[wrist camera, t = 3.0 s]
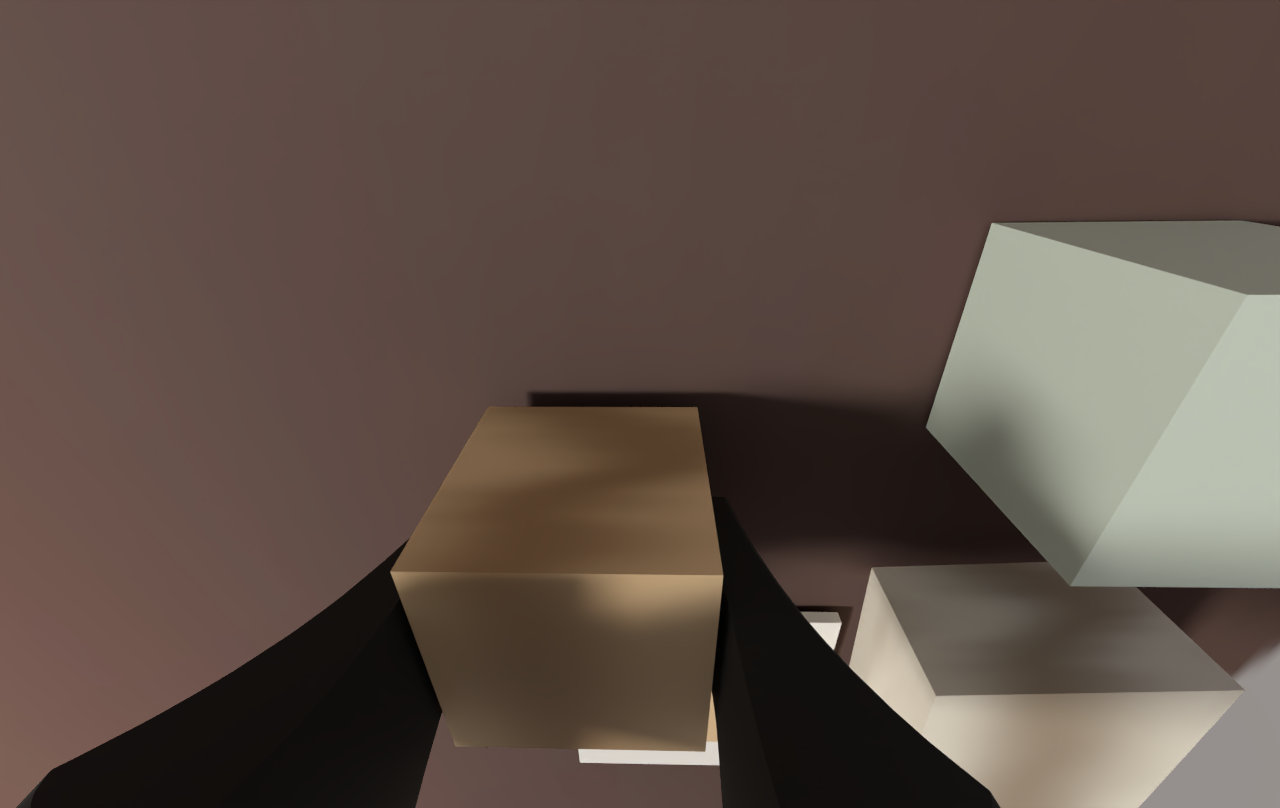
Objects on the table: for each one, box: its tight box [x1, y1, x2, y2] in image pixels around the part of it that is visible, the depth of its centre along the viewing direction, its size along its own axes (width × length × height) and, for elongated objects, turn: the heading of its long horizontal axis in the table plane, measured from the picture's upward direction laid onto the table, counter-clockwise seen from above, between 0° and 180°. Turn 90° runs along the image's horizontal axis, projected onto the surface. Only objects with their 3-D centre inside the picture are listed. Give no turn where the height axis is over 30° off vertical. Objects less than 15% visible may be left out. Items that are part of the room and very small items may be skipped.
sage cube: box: [926, 220, 1280, 588], centre depth 9 cm, size 5×5×5 cm
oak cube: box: [390, 407, 723, 752], centre depth 11 cm, size 5×5×5 cm
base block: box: [849, 562, 1245, 808], centre depth 15 cm, size 7×7×4 cm
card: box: [578, 612, 842, 765], centre depth 18 cm, size 9×9×1 cm
